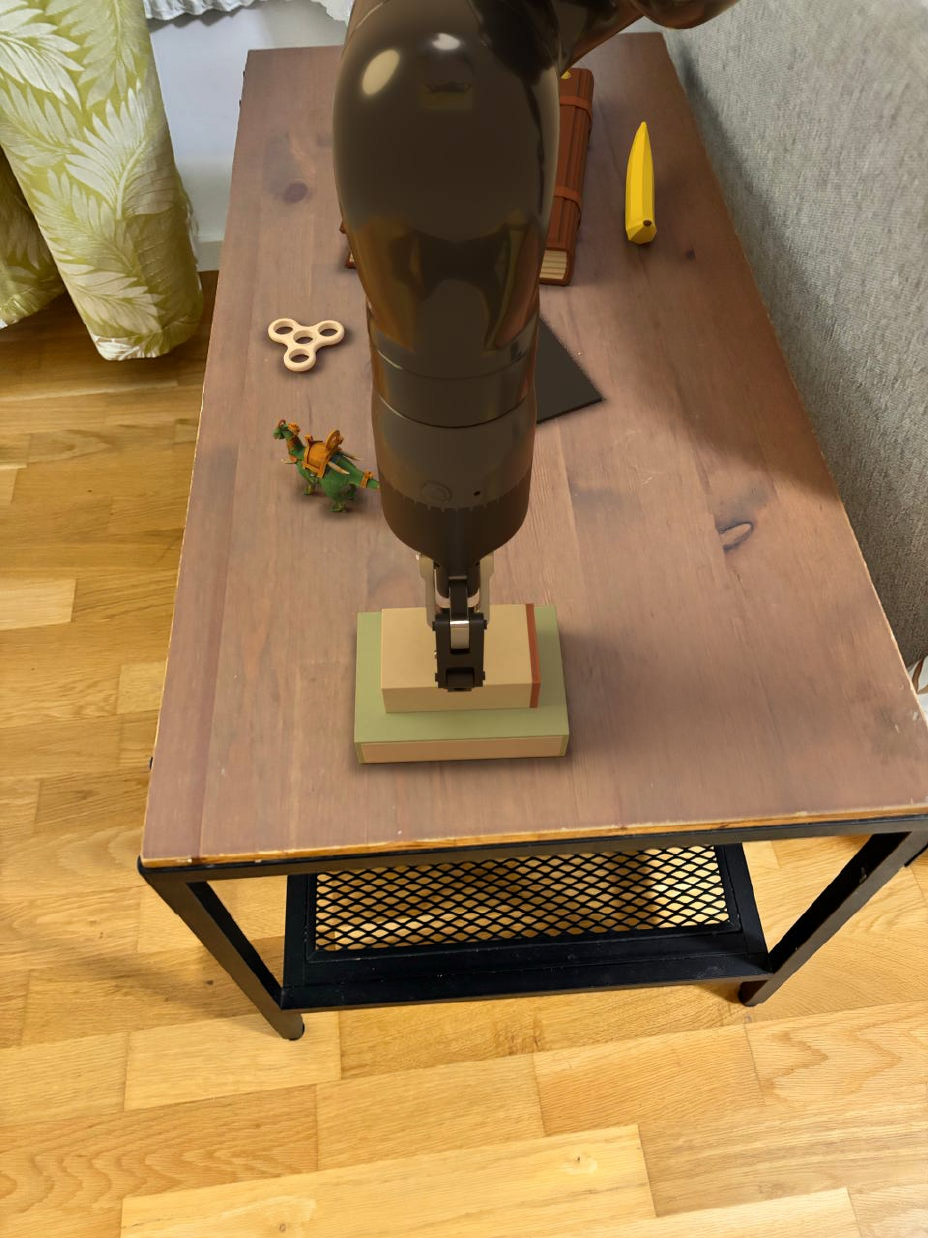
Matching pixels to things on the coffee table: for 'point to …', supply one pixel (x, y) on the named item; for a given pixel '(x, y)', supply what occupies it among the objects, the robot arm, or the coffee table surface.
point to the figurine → (324, 464)
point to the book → (563, 176)
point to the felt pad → (558, 379)
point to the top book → (415, 665)
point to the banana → (640, 190)
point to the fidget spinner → (304, 331)
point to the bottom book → (459, 711)
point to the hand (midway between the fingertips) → (456, 623)
